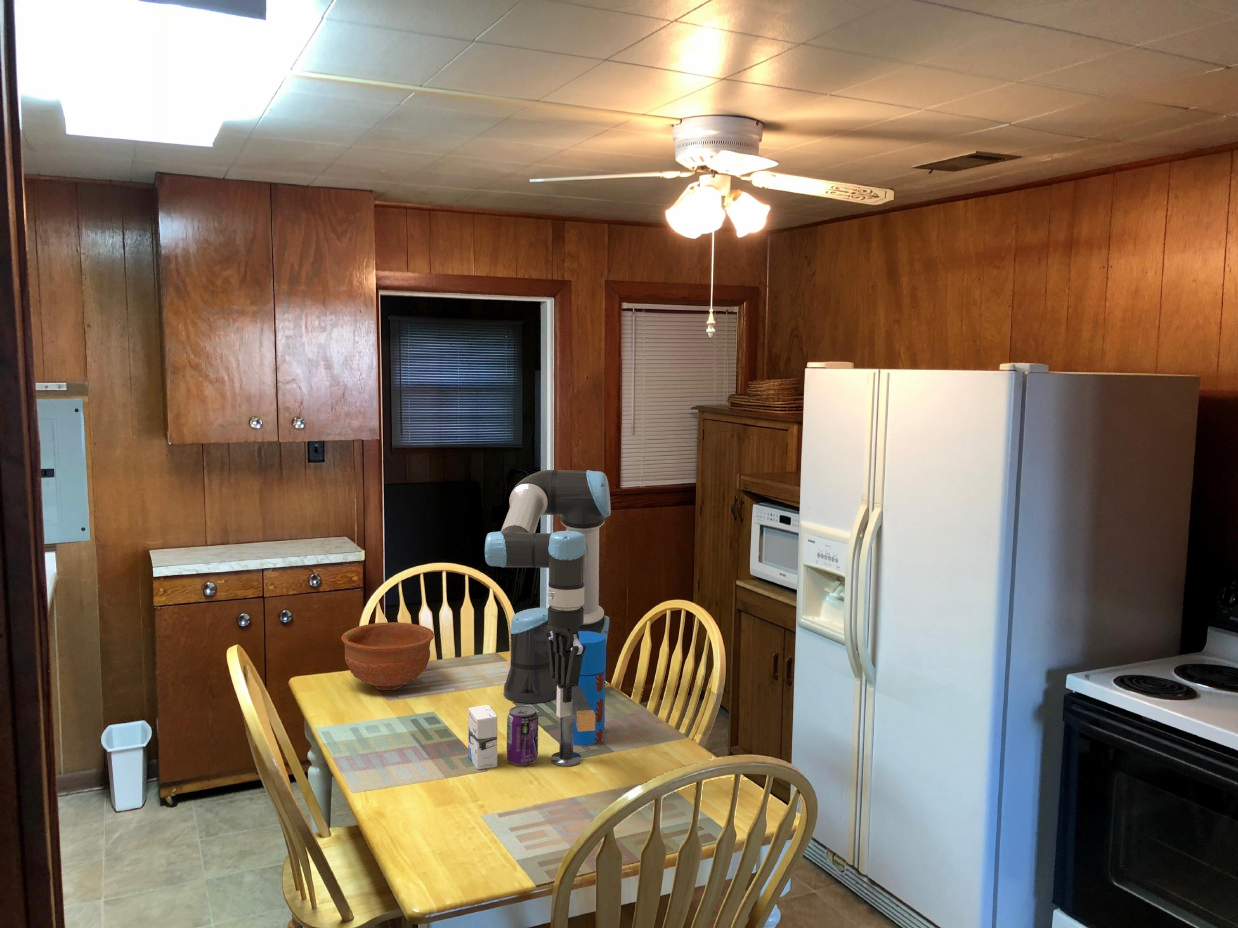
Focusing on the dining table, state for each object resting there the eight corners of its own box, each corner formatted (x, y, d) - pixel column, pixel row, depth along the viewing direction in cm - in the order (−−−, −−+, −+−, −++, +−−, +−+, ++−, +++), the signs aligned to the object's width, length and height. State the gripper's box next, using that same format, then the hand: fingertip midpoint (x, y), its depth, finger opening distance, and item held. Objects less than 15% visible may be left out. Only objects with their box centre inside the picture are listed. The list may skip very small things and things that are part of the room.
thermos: (550, 736, 234) (552, 636, 231) (581, 725, 242) (583, 628, 239) (582, 749, 226) (584, 646, 224) (613, 737, 234) (615, 637, 232)
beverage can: (532, 768, 215) (533, 716, 214) (502, 765, 216) (502, 713, 215) (541, 756, 222) (542, 706, 221) (512, 753, 223) (512, 703, 222)
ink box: (467, 755, 221) (467, 706, 220) (488, 752, 223) (488, 703, 222) (476, 770, 214) (476, 718, 212) (498, 767, 216) (498, 716, 214)
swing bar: (556, 686, 220) (556, 670, 220) (575, 685, 221) (575, 669, 220) (575, 731, 193) (576, 713, 193) (597, 730, 194) (597, 712, 194)
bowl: (363, 669, 282) (363, 619, 280) (445, 674, 278) (446, 624, 277) (326, 697, 257) (326, 643, 256) (416, 704, 254) (416, 648, 252)
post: (567, 751, 225) (568, 683, 223) (587, 760, 220) (589, 690, 218) (544, 759, 220) (545, 689, 218) (564, 769, 215) (565, 697, 213)
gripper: (535, 601, 204) (533, 708, 206) (566, 615, 193) (563, 728, 195) (565, 597, 208) (563, 702, 210) (597, 610, 197) (595, 721, 199)
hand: (563, 715), depth 203 cm, fingers closed
